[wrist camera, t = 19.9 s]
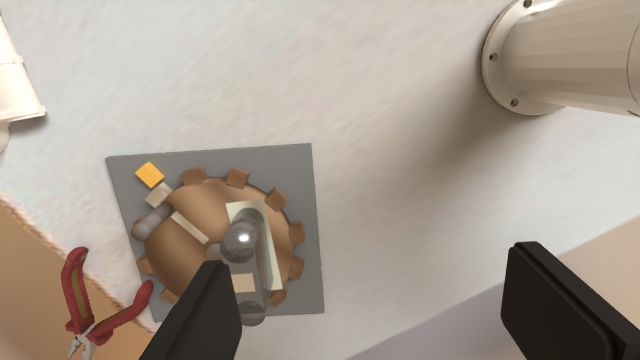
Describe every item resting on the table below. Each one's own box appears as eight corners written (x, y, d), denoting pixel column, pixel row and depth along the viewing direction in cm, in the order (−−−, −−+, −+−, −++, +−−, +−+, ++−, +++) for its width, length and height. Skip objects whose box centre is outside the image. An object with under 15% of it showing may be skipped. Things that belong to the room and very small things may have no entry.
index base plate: (311, 143, 37) (310, 147, 35) (324, 308, 45) (324, 319, 43) (109, 156, 38) (98, 161, 36) (157, 317, 46) (150, 328, 44)
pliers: (47, 341, 48) (31, 355, 45) (80, 239, 42) (63, 250, 39) (117, 374, 49) (105, 390, 46) (160, 280, 42) (148, 293, 40)
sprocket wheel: (215, 128, 36) (187, 144, 28) (339, 247, 41) (343, 288, 33) (107, 239, 40) (58, 279, 33) (230, 333, 45) (212, 386, 38)
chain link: (262, 206, 36) (251, 232, 31) (275, 288, 40) (267, 326, 34) (232, 208, 36) (216, 235, 31) (248, 290, 40) (236, 328, 35)
